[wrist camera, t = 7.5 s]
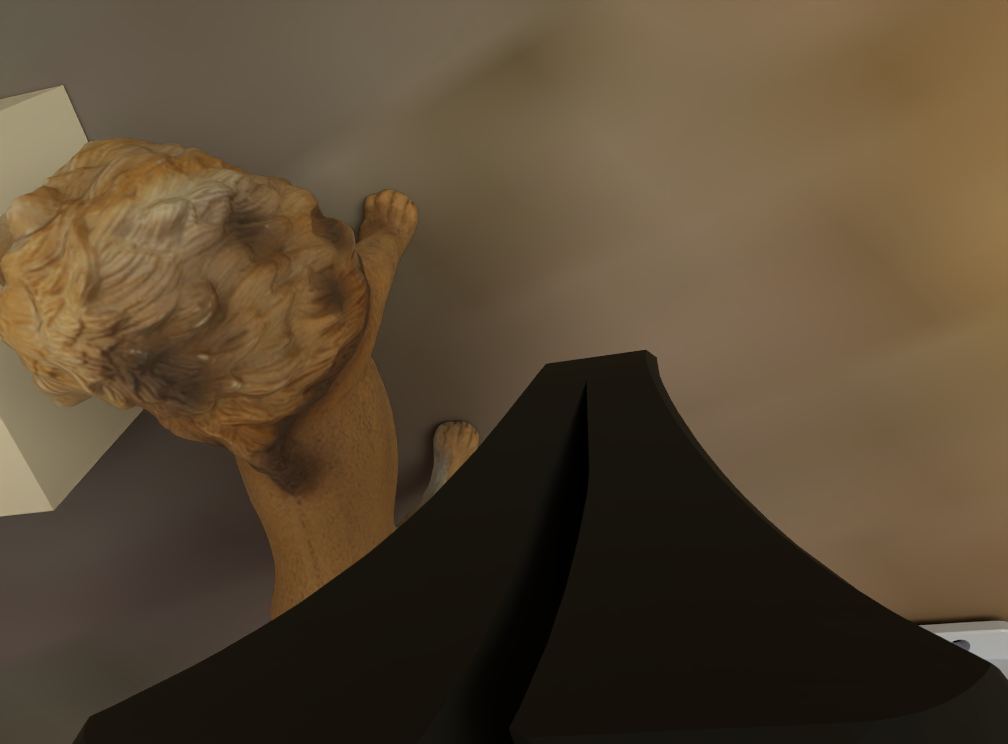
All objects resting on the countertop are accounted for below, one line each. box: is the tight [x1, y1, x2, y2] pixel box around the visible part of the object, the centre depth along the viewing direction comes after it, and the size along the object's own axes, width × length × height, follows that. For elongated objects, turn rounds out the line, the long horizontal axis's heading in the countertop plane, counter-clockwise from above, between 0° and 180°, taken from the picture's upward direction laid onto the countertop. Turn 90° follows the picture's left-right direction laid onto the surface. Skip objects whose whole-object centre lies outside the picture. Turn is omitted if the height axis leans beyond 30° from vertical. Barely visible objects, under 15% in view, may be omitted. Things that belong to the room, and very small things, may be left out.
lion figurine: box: [0, 138, 479, 621], centre depth 18 cm, size 15×5×9 cm, turn 19°
